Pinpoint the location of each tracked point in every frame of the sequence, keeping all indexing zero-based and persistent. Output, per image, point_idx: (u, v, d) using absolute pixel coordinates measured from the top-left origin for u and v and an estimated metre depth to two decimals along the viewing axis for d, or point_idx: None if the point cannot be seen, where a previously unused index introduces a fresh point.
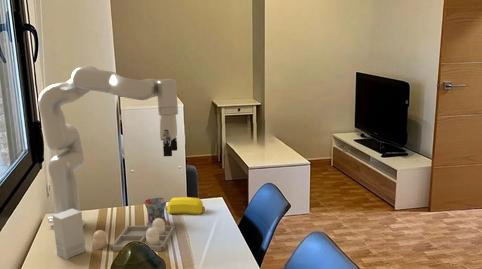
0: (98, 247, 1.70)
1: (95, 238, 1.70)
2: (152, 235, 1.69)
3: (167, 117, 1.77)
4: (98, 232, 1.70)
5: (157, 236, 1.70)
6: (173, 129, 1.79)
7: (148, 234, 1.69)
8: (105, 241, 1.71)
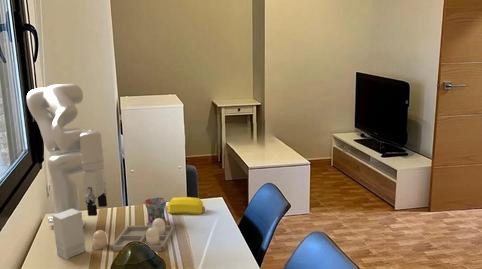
0: (98, 247, 1.70)
1: (95, 238, 1.70)
2: (152, 235, 1.69)
3: (90, 174, 1.62)
4: (98, 232, 1.70)
5: (157, 236, 1.70)
6: (98, 186, 1.65)
7: (148, 234, 1.69)
8: (105, 241, 1.71)
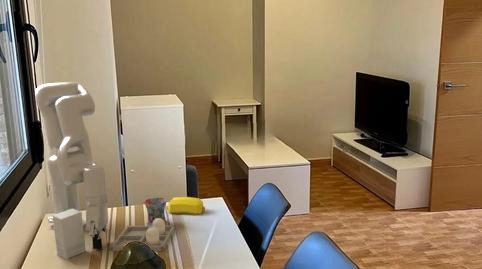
0: None
1: None
2: (152, 235, 1.69)
3: (93, 208, 1.65)
4: None
5: (157, 236, 1.70)
6: (101, 219, 1.67)
7: (148, 234, 1.69)
8: (105, 241, 1.71)
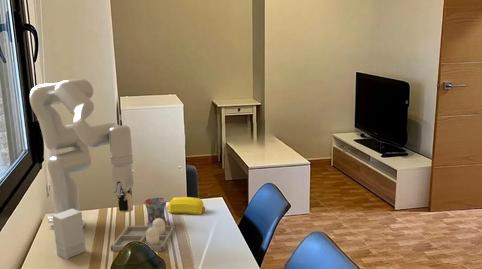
0: None
1: None
2: (152, 235, 1.69)
3: (120, 168, 1.63)
4: None
5: (157, 236, 1.70)
6: (127, 180, 1.65)
7: (148, 234, 1.69)
8: (131, 203, 1.69)
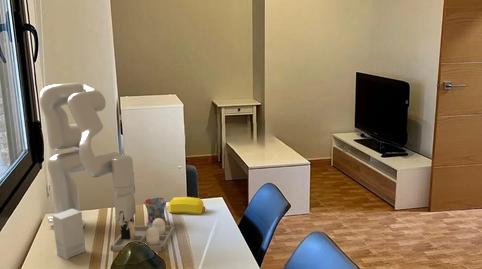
0: None
1: None
2: (152, 235, 1.69)
3: (122, 198, 1.65)
4: None
5: (157, 236, 1.70)
6: (129, 210, 1.67)
7: (148, 234, 1.69)
8: (133, 232, 1.71)
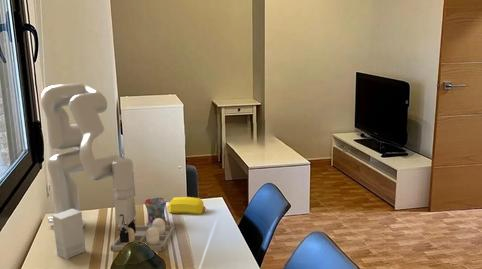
0: None
1: None
2: (152, 235, 1.69)
3: (122, 201, 1.65)
4: None
5: (157, 236, 1.70)
6: (129, 213, 1.68)
7: (148, 234, 1.69)
8: (133, 238, 1.72)
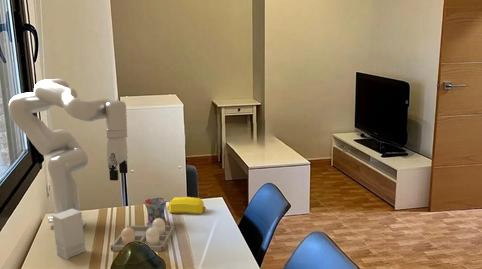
0: None
1: (124, 235, 1.70)
2: (152, 235, 1.69)
3: (114, 141, 1.72)
4: (126, 229, 1.71)
5: (157, 236, 1.70)
6: (120, 153, 1.75)
7: (148, 234, 1.69)
8: (133, 238, 1.72)
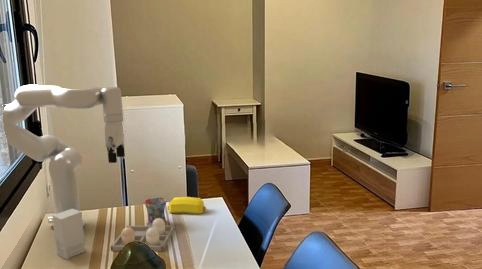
0: None
1: (124, 235, 1.70)
2: (152, 235, 1.69)
3: (111, 124, 1.81)
4: (126, 229, 1.71)
5: (157, 236, 1.70)
6: (118, 136, 1.84)
7: (148, 234, 1.69)
8: (133, 238, 1.72)
